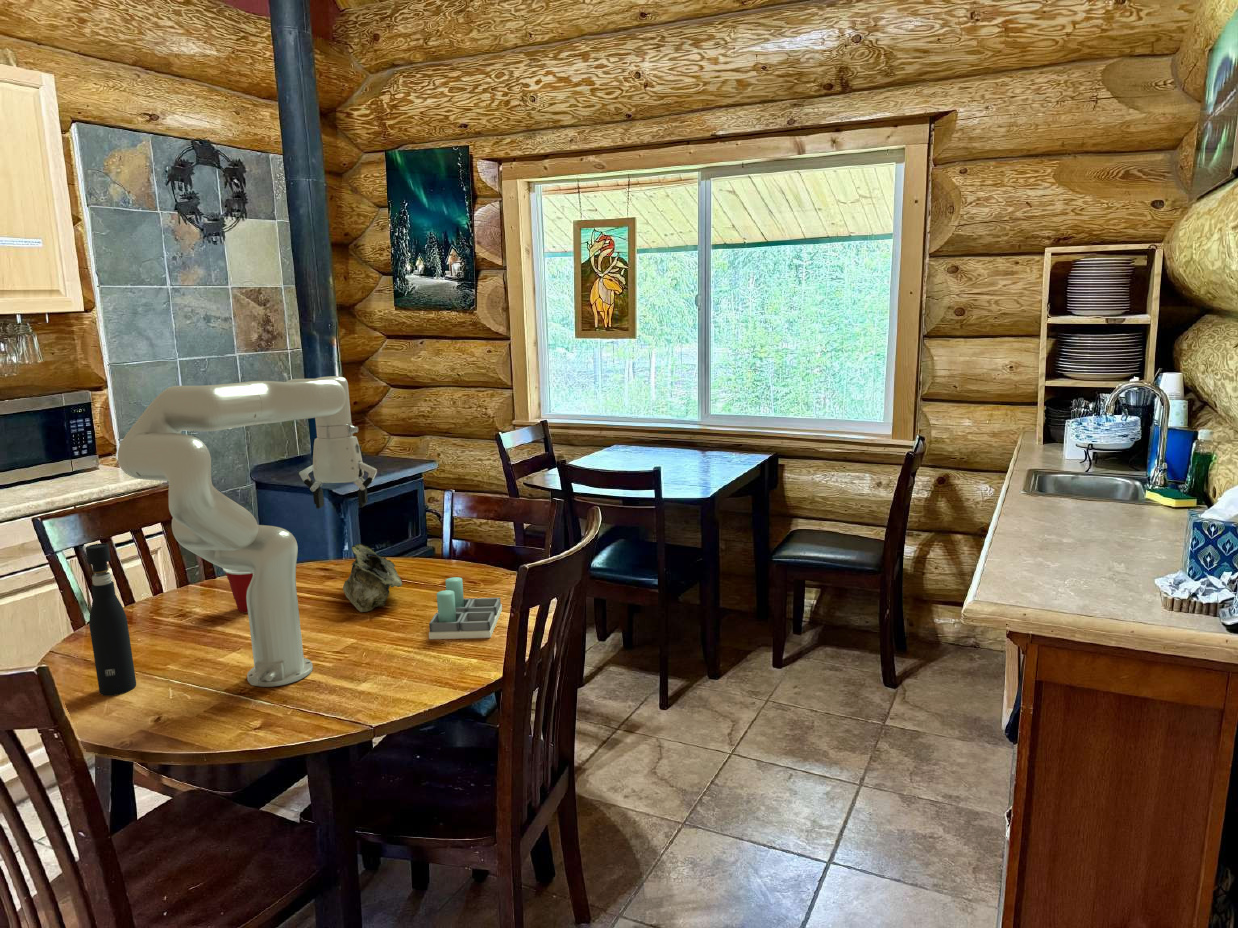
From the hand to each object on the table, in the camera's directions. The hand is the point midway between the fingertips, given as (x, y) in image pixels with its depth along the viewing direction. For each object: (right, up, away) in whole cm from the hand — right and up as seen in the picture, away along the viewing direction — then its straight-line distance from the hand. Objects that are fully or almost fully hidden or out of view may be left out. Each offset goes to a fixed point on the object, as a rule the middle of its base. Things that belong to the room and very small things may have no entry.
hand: (341, 506), depth 188 cm
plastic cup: (-31, -28, +24) cm, 48 cm away
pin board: (+27, -28, +9) cm, 40 cm away
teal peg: (+23, -26, +13) cm, 38 cm away
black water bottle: (-38, -36, -21) cm, 56 cm away
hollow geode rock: (-2, -26, +31) cm, 40 cm away
